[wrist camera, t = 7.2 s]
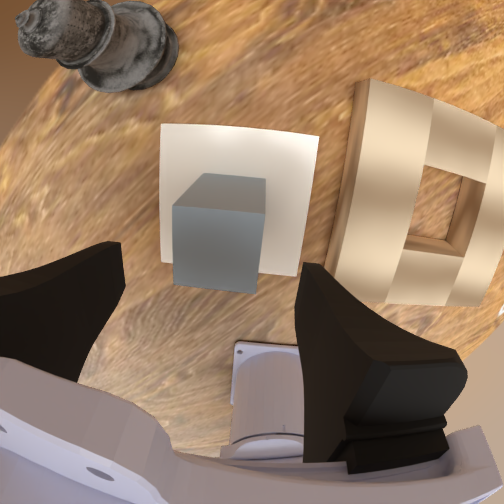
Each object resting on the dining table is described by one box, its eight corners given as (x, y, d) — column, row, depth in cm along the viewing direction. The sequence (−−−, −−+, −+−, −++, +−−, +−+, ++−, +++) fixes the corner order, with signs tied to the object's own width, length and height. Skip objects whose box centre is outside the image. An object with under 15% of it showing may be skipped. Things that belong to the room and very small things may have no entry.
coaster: (295, 273, 22) (296, 276, 22) (162, 259, 22) (161, 261, 22) (318, 135, 18) (319, 136, 18) (163, 123, 18) (161, 123, 18)
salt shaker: (192, 16, 15) (108, -70, 4) (173, 97, 17) (58, 91, 6) (113, 17, 14) (-6, -28, 4) (97, 92, 17) (-39, 102, 6)
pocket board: (463, 288, 22) (479, 306, 20) (322, 276, 22) (328, 299, 20) (506, 137, 16) (530, 143, 13) (355, 82, 16) (370, 78, 13)
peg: (259, 236, 21) (255, 294, 14) (201, 230, 21) (173, 284, 14) (265, 178, 19) (265, 214, 13) (203, 172, 19) (172, 205, 13)
